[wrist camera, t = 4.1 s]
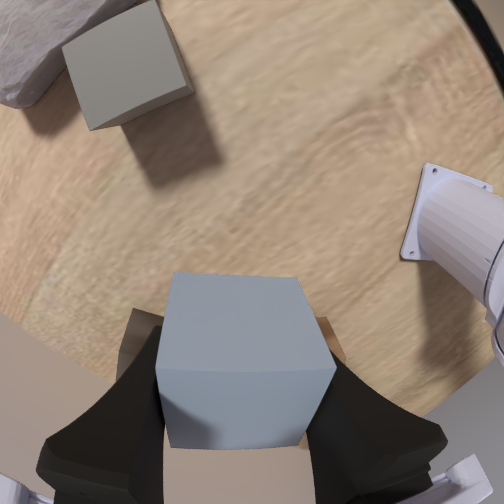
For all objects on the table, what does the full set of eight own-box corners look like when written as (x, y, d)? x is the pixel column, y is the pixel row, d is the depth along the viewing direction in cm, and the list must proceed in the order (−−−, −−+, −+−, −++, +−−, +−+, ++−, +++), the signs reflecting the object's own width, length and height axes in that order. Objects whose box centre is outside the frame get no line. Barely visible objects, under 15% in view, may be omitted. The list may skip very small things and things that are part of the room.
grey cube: (170, 25, 13) (154, -2, 9) (194, 93, 16) (186, 85, 11) (97, 59, 14) (61, 47, 9) (120, 125, 16) (89, 130, 11)
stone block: (-4, 53, 12) (35, 121, 14) (-40, 42, 8) (-11, 116, 10) (101, -52, 10) (166, -5, 13) (78, -81, 6) (145, -45, 8)
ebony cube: (193, 324, 23) (190, 370, 19) (179, 363, 25) (176, 407, 21) (133, 307, 22) (119, 351, 17) (126, 348, 24) (114, 392, 19)
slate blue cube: (297, 278, 12) (336, 367, 8) (277, 361, 14) (297, 445, 10) (174, 272, 12) (155, 367, 7) (177, 359, 14) (170, 447, 9)
